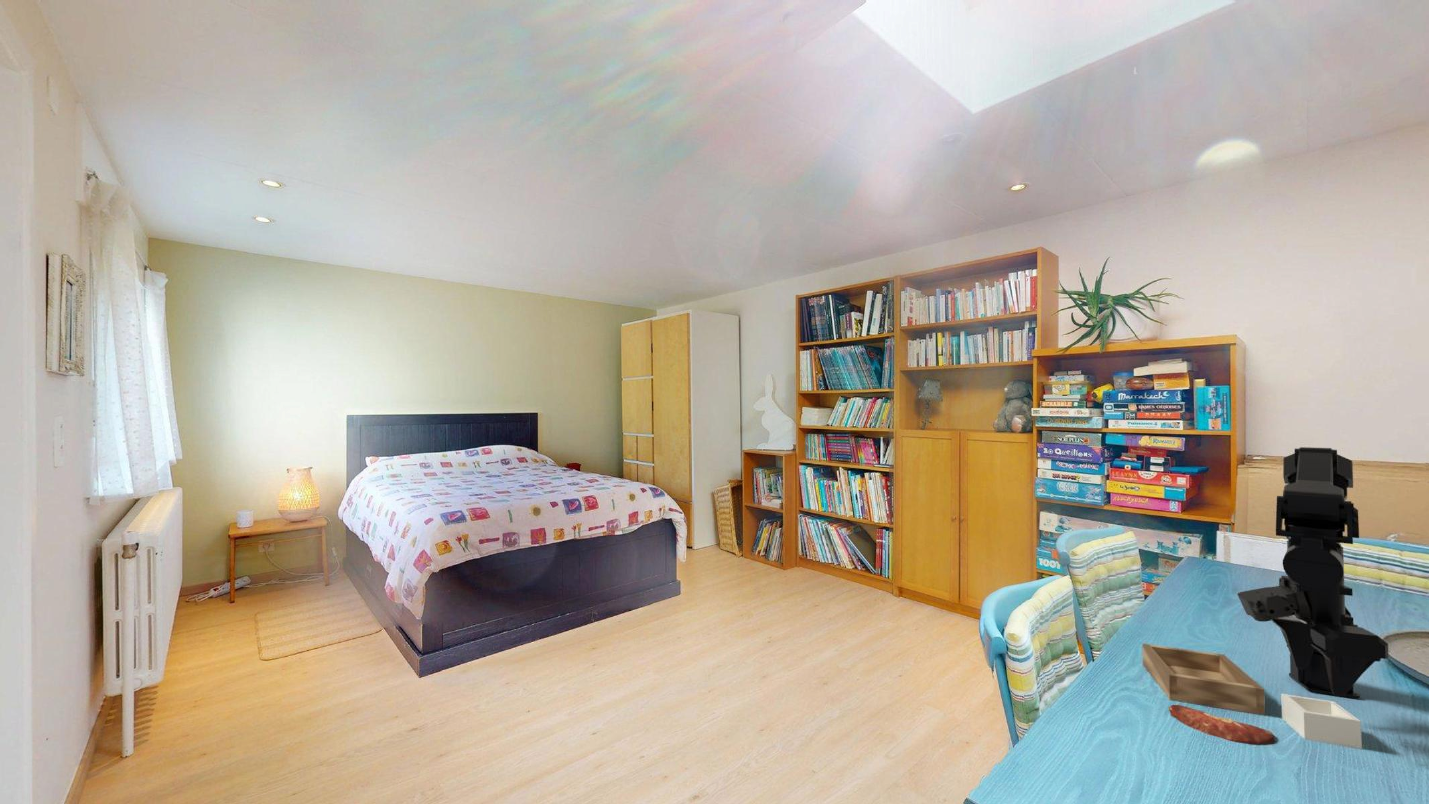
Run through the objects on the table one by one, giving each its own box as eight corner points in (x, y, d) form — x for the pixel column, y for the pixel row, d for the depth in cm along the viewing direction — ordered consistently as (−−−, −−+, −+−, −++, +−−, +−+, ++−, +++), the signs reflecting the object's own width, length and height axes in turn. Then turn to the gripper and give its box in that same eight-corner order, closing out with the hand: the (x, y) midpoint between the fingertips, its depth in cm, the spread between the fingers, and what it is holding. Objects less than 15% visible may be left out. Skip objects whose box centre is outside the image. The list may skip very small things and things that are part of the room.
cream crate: (1334, 728, 83) (1333, 701, 83) (1361, 750, 78) (1360, 721, 78) (1282, 719, 86) (1281, 693, 86) (1304, 740, 80) (1303, 712, 80)
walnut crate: (1224, 677, 99) (1224, 654, 99) (1265, 715, 86) (1264, 689, 87) (1142, 665, 104) (1142, 643, 104) (1169, 699, 91) (1169, 674, 91)
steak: (1172, 694, 90) (1277, 724, 82) (1172, 705, 90) (1277, 737, 81) (1163, 711, 85) (1274, 746, 76) (1163, 723, 85) (1274, 759, 76)
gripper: (1218, 555, 94) (1220, 647, 94) (1277, 585, 77) (1280, 699, 77) (1306, 562, 90) (1308, 659, 89) (1389, 596, 73) (1393, 716, 72)
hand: (1318, 680), depth 82 cm, fingers open, 9 cm apart
